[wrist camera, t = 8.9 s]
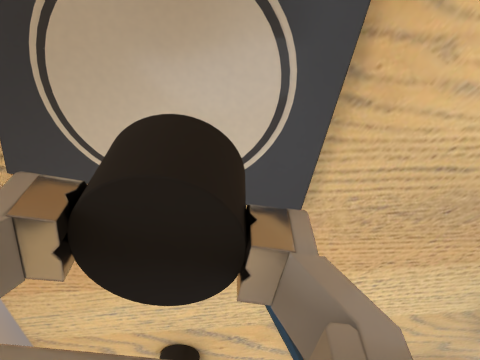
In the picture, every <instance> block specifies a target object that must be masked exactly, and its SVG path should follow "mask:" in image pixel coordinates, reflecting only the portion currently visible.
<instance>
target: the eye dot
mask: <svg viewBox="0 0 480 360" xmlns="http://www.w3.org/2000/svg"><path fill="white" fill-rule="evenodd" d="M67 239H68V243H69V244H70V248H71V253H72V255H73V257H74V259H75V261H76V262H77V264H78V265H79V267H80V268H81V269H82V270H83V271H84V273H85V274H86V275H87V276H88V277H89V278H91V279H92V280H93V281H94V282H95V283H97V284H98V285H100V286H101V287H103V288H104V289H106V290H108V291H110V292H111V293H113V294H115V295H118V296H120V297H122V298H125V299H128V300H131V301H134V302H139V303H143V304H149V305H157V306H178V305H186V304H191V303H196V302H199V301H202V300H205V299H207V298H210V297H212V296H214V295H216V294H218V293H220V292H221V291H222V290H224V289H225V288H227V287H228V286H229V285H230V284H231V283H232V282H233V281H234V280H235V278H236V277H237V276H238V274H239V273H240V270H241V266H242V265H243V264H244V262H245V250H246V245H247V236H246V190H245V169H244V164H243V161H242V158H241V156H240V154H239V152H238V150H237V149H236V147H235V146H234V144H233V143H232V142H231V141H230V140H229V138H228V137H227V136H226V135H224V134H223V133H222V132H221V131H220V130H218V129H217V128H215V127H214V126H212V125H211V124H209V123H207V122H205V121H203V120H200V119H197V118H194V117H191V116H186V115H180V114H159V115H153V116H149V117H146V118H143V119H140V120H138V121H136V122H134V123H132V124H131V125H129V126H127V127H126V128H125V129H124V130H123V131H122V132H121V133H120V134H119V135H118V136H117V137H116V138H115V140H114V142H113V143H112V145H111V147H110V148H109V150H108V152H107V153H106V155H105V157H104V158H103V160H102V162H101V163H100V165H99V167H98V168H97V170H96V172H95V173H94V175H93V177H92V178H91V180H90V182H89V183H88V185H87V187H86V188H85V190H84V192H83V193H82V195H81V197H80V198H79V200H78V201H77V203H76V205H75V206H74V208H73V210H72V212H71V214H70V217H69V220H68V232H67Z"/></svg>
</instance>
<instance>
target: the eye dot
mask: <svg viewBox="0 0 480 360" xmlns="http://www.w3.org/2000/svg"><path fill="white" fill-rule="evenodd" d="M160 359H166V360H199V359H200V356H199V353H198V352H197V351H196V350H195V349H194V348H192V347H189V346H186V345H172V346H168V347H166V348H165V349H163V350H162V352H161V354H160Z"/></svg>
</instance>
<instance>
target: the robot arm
mask: <svg viewBox="0 0 480 360" xmlns="http://www.w3.org/2000/svg"><path fill="white" fill-rule="evenodd" d="M86 187H87V184H86V183H85V181H81V180H74V179H68V178H62V177H56V176H49V175H41V174H36V173H29V172H22V171H20V172H17V173H15V174H14V175H13V176H12V177H11V178H10V179H9V180H8V181H7V182H6V183H5V184H4V185H3V186H2V187H1V188H0V298H1V297H3V296H4V295H5V294H7V293H8V292H9V291H11V290H12V289H14V288H15V287H16V286H18V285H19V284H21V283H22V282H23V281H25V278H26V279H38V280H49V281H61V282H64V280H65V278H66V276H67V274H68V272H69V270H70V268H71V266H72V265H73V263H74V261H75V259H74V257H73V255H72V253H71V248H70V244H69V243H68V239H67V232H68V220H69V217H70V214H71V212H72V210H73V208H74V206H75V205H76V203H77V201H78V200H79V198H80V197H81V195H82V193H83V192H84V190H85V188H86ZM246 236H247V245H246V250H245V262H244V264H243V265H242V266H241V270H240V273H239V274H238V277H237V301H240V302H247V303H254V304H262V305H269V306H271V308H272V310H273V312H274V313H275V315H276V316H277V318H278V319H279V321H280V322H281V324H282V326H283V327H284V329H285V330H286V332H287V333H288V335H289V336H290V338H291V340H292V341H293V343H294V344H295V346H296V347H297V349H298V350H299V352H300V354H301V355H302V357H303V358H304V360H413V358H412V356H411V353H410V351H409V349H408V346H407V344H406V341H405V339H404V336H403V334H402V331H401V329H400V328H399V327H398V326H397V325H396V324H395V323H394V322H393V321H392V320H391V319H390V318H389V317H388V316H387V315H385V314H384V313H383V312H382V311H381V310H380V309H379V308H378V307H377V306H376V305H375V304H374V303H373V302H372V301H371V300H370V299H369V298H368V297H367V296H365V295H364V294H363V293H362V292H361V291H360V290H359V289H358V288H357V287H356V286H355V285H354V284H353V283H352V282H351V281H350V280H349V279H348V278H347V277H346V276H344V275H343V274H342V273H341V272H340V271H339V270H338V269H337V268H336V267H335V266H334V265H333V264H332V263H331V262H330V261H329V260H328V259H327V258H326V257H323V256H319V254H318V250H317V246H316V242H315V238H314V235H313V231H312V227H311V223H310V219H309V215H308V213H307V211H305V210H296V209H282V208H274V207H267V206H259V205H252V204H248V205H247V208H246ZM0 360H166V359H155V358H145V357H134V356H124V355H113V354H103V353H92V352H82V351H71V350H60V349H50V348H39V347H29V346H18V345H7V344H0Z"/></svg>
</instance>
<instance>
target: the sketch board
mask: <svg viewBox="0 0 480 360" xmlns="http://www.w3.org/2000/svg"><path fill="white" fill-rule="evenodd" d="M370 2H371V0H0V141H1V146H2V150H3V155H4V160H5V165H6V170H7V173H9V174H15V173H17V172H20V171H22V172H29V173H36V174H41V175H49V176H56V177H62V178H68V179H74V180H81V181H85V183H86V184H88V183H89V182H90V180H91V178H92V177H93V175H94V173H95V172H96V170H97V168H98V167H99V165H100V163H101V162H102V160H103V158H104V157H105V155H106V153H107V152H108V150H109V148H110V147H111V145H112V143H113V142H114V140H115V138H116V137H117V136H118V135H119V134H120V133H121V132H122V131H123V130H124V129H125V128H126V127H127V126H129V125H131V124H132V123H134V122H136V121H138V120H140V119H143V118H146V117H149V116H153V115H159V114H180V115H186V116H191V117H194V118H197V119H200V120H203V121H205V122H207V123H209V124H211V125H212V126H214V127H215V128H217V129H218V130H220V131H221V132H222V133H223V134H224V135H226V136H227V137H228V138H229V140H230V141H231V142H232V143H233V144H234V146H235V147H236V149H237V150H238V152H239V154H240V156H241V158H242V161H243V164H244V169H245V190H246V205H248V204H252V205H259V206H267V207H274V208H282V209H296V210H301V208H302V205H303V202H304V199H305V196H306V193H307V190H308V187H309V184H310V181H311V178H312V175H313V172H314V169H315V166H316V163H317V161H318V158H319V155H320V152H321V149H322V146H323V143H324V140H325V137H326V134H327V131H328V128H329V125H330V122H331V119H332V116H333V113H334V110H335V107H336V104H337V101H338V98H339V95H340V92H341V89H342V86H343V83H344V80H345V77H346V74H347V71H348V68H349V65H350V62H351V59H352V56H353V53H354V50H355V47H356V44H357V41H358V38H359V35H360V32H361V29H362V26H363V23H364V20H365V17H366V14H367V11H368V8H369V5H370Z"/></svg>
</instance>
